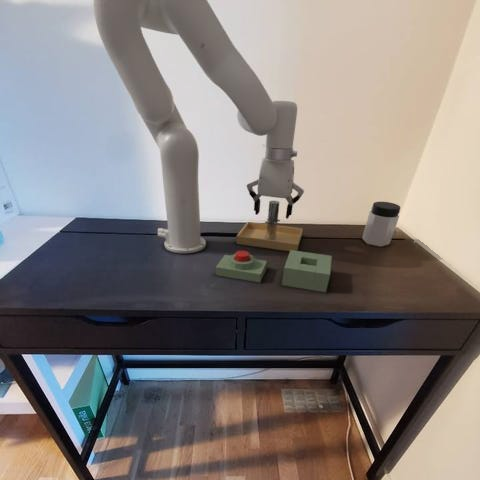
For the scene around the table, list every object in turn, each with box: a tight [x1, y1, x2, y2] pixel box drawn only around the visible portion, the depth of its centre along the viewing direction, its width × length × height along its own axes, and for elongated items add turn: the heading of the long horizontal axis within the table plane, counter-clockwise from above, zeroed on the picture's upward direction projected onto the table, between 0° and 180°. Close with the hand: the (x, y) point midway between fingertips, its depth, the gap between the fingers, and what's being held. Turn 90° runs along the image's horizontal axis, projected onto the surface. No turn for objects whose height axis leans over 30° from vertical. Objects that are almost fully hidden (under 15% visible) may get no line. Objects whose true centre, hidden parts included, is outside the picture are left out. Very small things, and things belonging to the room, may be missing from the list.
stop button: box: [234, 250, 250, 262], centre depth 81 cm, size 4×4×2 cm
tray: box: [235, 221, 304, 252], centre depth 102 cm, size 19×14×3 cm
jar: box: [361, 201, 401, 248], centre depth 101 cm, size 9×8×12 cm
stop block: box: [215, 253, 268, 283], centre depth 83 cm, size 12×8×4 cm, turn 75°
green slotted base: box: [281, 250, 333, 293], centre depth 81 cm, size 11×11×5 cm
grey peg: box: [264, 200, 281, 240], centre depth 99 cm, size 4×4×12 cm
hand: (272, 215), depth 98 cm, fingers open, 9 cm apart
